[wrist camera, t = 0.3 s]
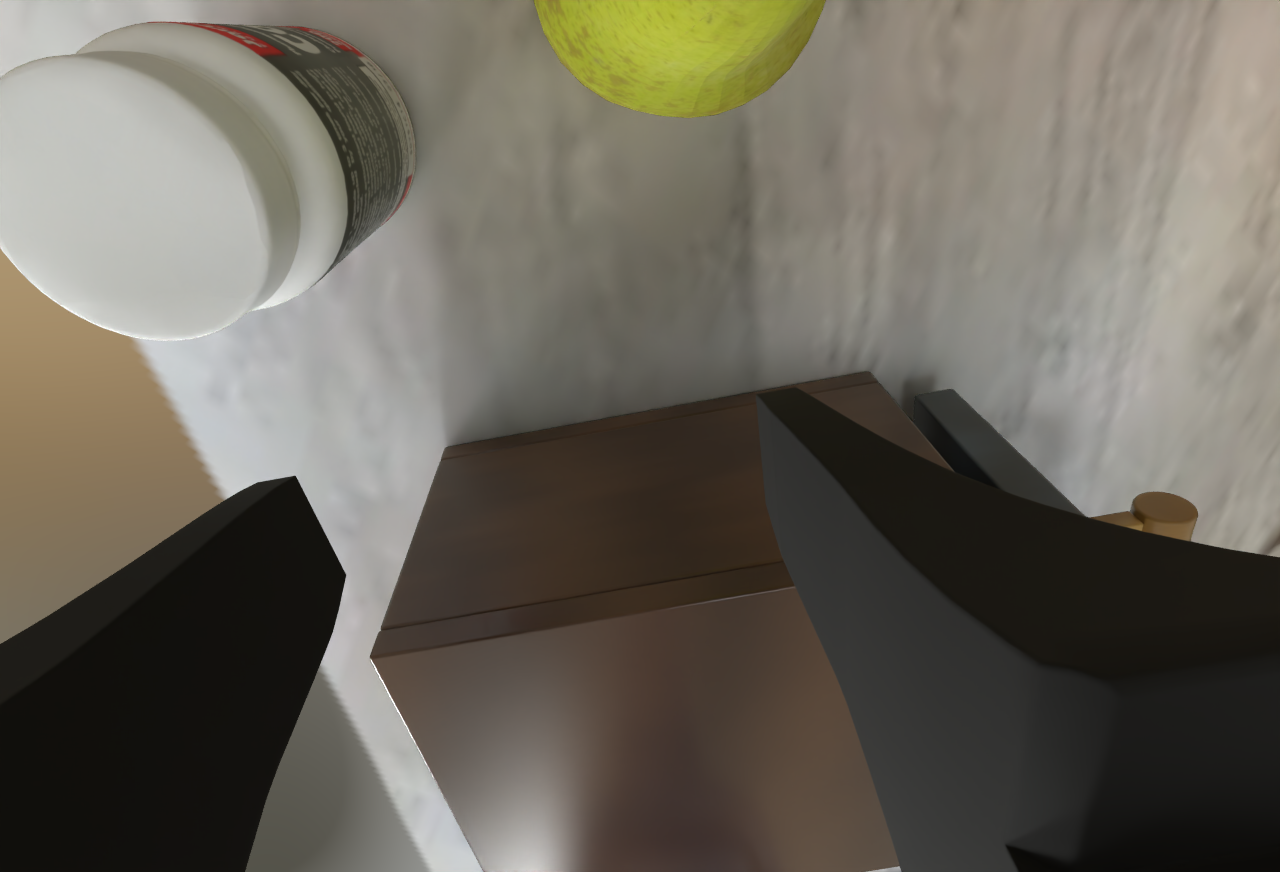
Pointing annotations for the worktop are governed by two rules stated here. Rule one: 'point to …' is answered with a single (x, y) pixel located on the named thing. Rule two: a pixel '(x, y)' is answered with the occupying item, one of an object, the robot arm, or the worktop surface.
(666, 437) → the cabinet
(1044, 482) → the drawer
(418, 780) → the worktop surface
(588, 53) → the fruit
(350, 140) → the pill bottle
